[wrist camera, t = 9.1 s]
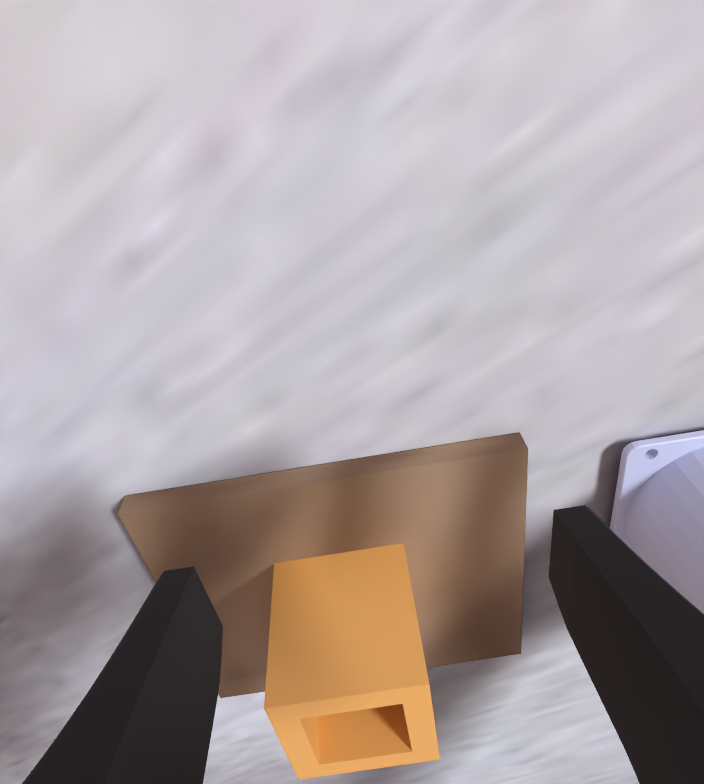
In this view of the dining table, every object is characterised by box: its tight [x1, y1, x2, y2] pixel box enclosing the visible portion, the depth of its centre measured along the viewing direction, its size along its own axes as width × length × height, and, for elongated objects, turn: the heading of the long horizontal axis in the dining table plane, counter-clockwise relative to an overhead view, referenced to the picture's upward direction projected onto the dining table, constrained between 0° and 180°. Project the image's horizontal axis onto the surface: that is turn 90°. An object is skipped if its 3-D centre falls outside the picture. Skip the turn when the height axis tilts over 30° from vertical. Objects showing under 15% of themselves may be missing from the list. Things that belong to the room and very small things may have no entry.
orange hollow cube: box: [264, 543, 440, 780], centre depth 22 cm, size 6×6×6 cm
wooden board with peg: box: [118, 433, 528, 698], centre depth 23 cm, size 16×14×6 cm
